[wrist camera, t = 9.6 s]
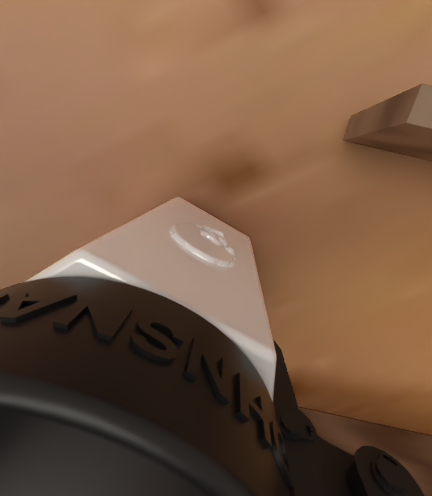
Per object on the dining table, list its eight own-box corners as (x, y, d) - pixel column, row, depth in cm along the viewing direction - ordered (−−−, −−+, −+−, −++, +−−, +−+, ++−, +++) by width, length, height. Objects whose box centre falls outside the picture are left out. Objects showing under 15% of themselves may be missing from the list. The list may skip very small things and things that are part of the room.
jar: (285, 253, 14) (491, 597, 3) (214, 353, 17) (172, 755, 5) (143, 170, 13) (-366, 194, 2) (89, 289, 16) (-280, 604, 4)
